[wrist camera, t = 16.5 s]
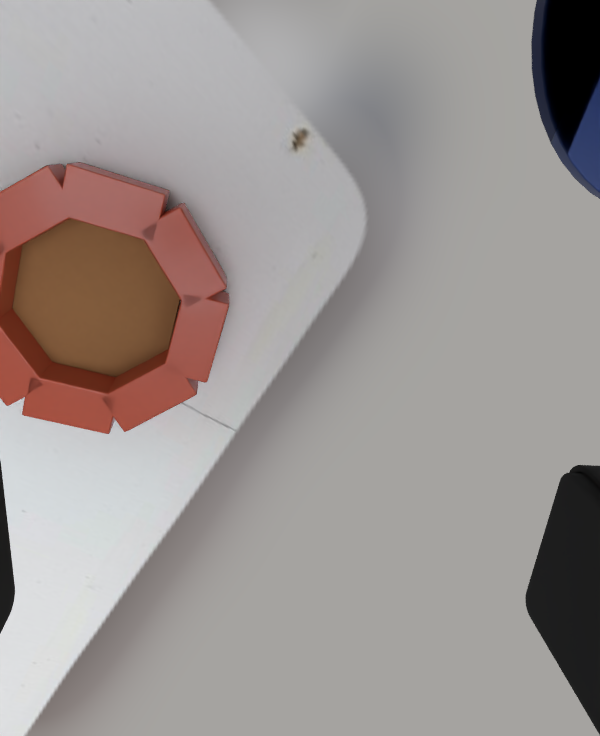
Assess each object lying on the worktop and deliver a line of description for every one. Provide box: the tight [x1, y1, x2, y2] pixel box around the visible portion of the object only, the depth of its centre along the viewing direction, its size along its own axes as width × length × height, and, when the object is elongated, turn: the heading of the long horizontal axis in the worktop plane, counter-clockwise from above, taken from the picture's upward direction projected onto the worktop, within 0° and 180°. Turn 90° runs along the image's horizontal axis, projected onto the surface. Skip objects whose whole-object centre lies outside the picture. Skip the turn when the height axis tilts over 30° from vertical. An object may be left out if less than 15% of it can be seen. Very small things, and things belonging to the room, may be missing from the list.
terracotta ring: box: [0, 162, 229, 434], centre depth 25 cm, size 11×11×2 cm
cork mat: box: [12, 219, 180, 377], centre depth 26 cm, size 7×7×1 cm
